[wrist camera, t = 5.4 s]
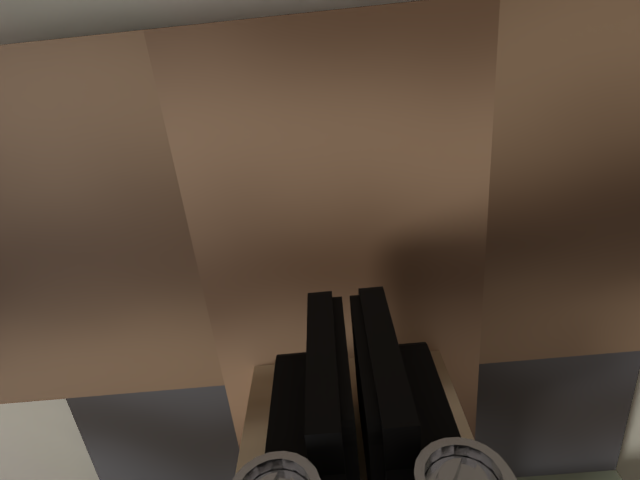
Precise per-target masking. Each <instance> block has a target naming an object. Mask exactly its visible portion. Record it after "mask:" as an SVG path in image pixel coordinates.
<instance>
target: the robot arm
mask: <svg viewBox="0 0 640 480" xmlns="http://www.w3.org/2000/svg"><path fill="white" fill-rule="evenodd" d="M350 309H351V322H352V334H353V346H354V358H355V371H356V383H357V394H358V404H359V412H360V421H361V429H362V438H363V446H364V454H365V463H366V471H367V479H368V480H517V478H516V477H515V475H514V474H513V472H512V470H511V469H510V467H509V466H508V465H507V463H506V462H505V461H504V460H503V459H502V457H501V456H500V455H499V454H498V453H496V452H495V451H494V450H492V449H491V448H489V447H488V446H487V445H484V444H482V443H480V442H477V441H475V440H472V439H467V438H461V435H460V433H459V430H458V427H457V424H456V422H455V419H454V416H453V413H452V410H451V408H450V405H449V402H448V399H447V397H446V394H445V391H444V388H443V386H442V383H441V380H440V377H439V375H438V372H437V369H436V366H435V363H434V361H433V358H432V355H431V352H430V350H429V347H428V345H427V343H426V342H418V343H406V344H398V340H397V337H396V333H395V329H394V326H393V322H392V318H391V314H390V311H389V307H388V303H387V300H386V296H385V292H384V288H383V286H380V287H369V288H358V295H352V296H350ZM233 480H360V471H359V460H358V448H357V437H356V427H355V417H354V407H353V398H352V388H351V379H350V369H349V360H348V350H347V341H346V331H345V322H344V312H343V303H342V296H341V297H332V291H324V292H313V293H308V296H307V340H306V352H302V353H290V354H278V355H277V356H276V360H275V368H274V377H273V385H272V394H271V403H270V412H269V420H268V429H267V438H266V446H265V454H263V455H260V456H257V457H255V458H254V459H252V460H251V461H249V462H248V463H246V464H245V465H244V466H243V467H242V468H241V469H240V470H239V471H238V472H237V473H236V474H235V476H234V478H233Z"/></svg>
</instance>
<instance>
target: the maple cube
mask: <svg viewBox="0 0 640 480" xmlns="http://www.w3.org/2000/svg"><path fill="white" fill-rule="evenodd" d="M430 352H431V355H432V358H433V361H434V363H435V366H436V369H437V372H438V375H439V377H440V380H441V383H442V386H443V388H444V391H445V394H446V397H447V399H448V402H449V405H450V408H451V410H452V413H453V416H454V419H455V422H456V424H457V427H458V430H459V433H460V435H461V438H467V439H472V440H474V438H473V435H472V433H471V430H470V428H469V425H468V423H467V420H466V417H465V415H464V412H463V410H462V407H461V405H460V402H459V400H458V397H457V394H456V392H455V389H454V387H453V384H452V382H451V379H450V376H449V374H448V371H447V369H446V366H445V364H444V361H443V359H442V356H441V353H440V351H439V350H438V351H430ZM348 360H349V369H350V379H351V388H352V398H353V407H354V417H355V427H356V437H357V448H358V460H359V471H360V480H368V479H367V471H366V463H365V454H364V446H363V438H362V429H361V421H360V412H359V404H358V394H357V383H356V371H355V358H348ZM274 368H275V364H274V365H262V366H254V371H253V376H252V382H251V388H250V393H249V399H248V405H247V410H246V416H245V422H244V427H243V433H242V439H241V444H240V450H239V456H238V461H237V467H236V473H237V472H238V471H239V470H240V469H241V468H242V467H243V466H244V465H245V464H246V463H248V462H249V461H251V460H252V459H254V458H255V457H257V456H260V455H263V454H265V446H266V438H267V429H268V420H269V412H270V403H271V394H272V385H273V377H274ZM236 473H235V474H236Z"/></svg>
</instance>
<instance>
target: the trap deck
mask: <svg viewBox="0 0 640 480" xmlns="http://www.w3.org/2000/svg"><path fill="white" fill-rule="evenodd" d="M380 286H383V288H384V292H385V296H386V300H387V303H388V307H389V311H390V314H391V318H392V322H393V326H394V329H395V333H396V337H397V340H398V344H406V343H418V342H426V343H427V345H428V347H429V350H430V351H438V350H439V351H440V353H441V356H442V359H443V361H444V364H445V366H446V369H447V371H448V374H449V376H450V379H451V382H452V384H453V387H454V389H455V392H456V394H457V397H458V400H459V402H460V405H461V407H462V410H463V412H464V415H465V417H466V420H467V423H468V425H469V428H470V430H471V433H472V435H473V438H474V440H475V441H477V442H480V443H482V444H484V445H487V446H488V447H489V448H491V449H492V450H494V451H495V452H496V453H498V454H499V455H500V456H501V457H502V459H503V460H504V461H505V462H506V463H507V465H508V466H509V467H510V469H511V470H512V472H513V474H514V475H515V477H516V478H517V480H622V478H621V477H620V476H619V474H618V473H617V471H616V466H617V462H618V458H619V454H620V450H621V445H622V441H623V437H624V433H625V428H626V424H627V420H628V416H629V411H630V407H631V403H632V399H633V395H634V390H635V386H636V382H637V378H638V373H639V369H640V0H421V1H412V2H402V3H393V4H383V5H374V6H364V7H355V8H345V9H336V10H326V11H317V12H307V13H298V14H288V15H279V16H270V17H260V18H251V19H241V20H232V21H222V22H213V23H203V24H194V25H184V26H175V27H165V28H156V29H146V30H137V31H127V32H118V33H108V34H99V35H89V36H80V37H70V38H61V39H51V40H42V41H32V42H23V43H13V44H4V45H0V404H5V403H17V402H29V401H41V400H53V399H65V398H66V400H67V403H68V405H69V407H70V410H71V412H72V415H73V417H74V419H75V422H76V424H77V427H78V429H79V431H80V434H81V436H82V439H83V441H84V443H85V446H86V448H87V451H88V453H89V455H90V458H91V460H92V463H93V465H94V467H95V470H96V472H97V475H98V477H99V479H100V480H233V478H234V476H235V473H236V467H237V461H238V456H239V450H240V444H241V439H242V433H243V427H244V422H245V416H246V410H247V405H248V399H249V393H250V388H251V382H252V376H253V371H254V366H262V365H274V364H275V360H276V356H277V355H278V354H290V353H302V352H306V340H307V296H308V293H313V292H324V291H332V297H341V296H342V303H343V312H344V322H345V331H346V341H347V350H348V358H354V346H353V334H352V322H351V309H350V296H352V295H358V288H369V287H380Z"/></svg>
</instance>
